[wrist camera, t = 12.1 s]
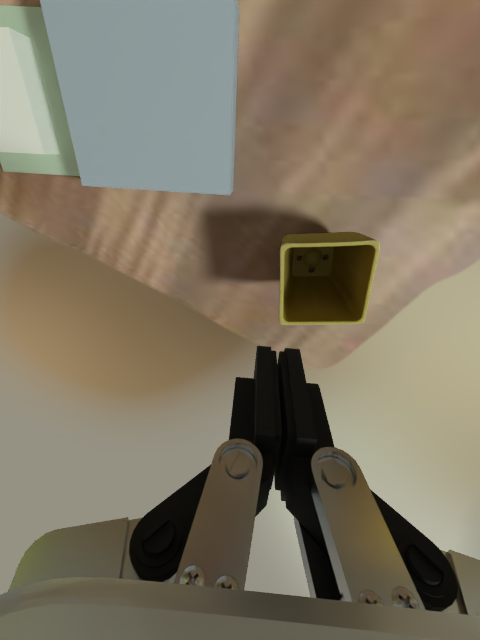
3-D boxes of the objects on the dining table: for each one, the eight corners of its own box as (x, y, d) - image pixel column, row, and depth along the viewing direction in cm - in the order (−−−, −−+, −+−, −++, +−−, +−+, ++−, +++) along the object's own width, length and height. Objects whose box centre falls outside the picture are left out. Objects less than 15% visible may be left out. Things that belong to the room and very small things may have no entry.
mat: (-53, 4, 24) (-57, 2, 24) (68, 10, 24) (65, 8, 24) (6, 171, 31) (3, 171, 31) (100, 177, 31) (99, 177, 30)
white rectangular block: (8, 27, 23) (29, 38, 25) (-62, 24, 23) (-34, 35, 25) (44, 154, 27) (60, 154, 29) (-14, 151, 27) (6, 151, 30)
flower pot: (275, 290, 37) (278, 326, 29) (275, 222, 32) (280, 244, 24) (342, 288, 36) (364, 325, 28) (352, 218, 31) (382, 240, 24)
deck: (67, 1, 24) (34, -24, 20) (239, 9, 23) (235, -16, 20) (101, 182, 31) (82, 185, 28) (233, 190, 30) (229, 195, 27)
